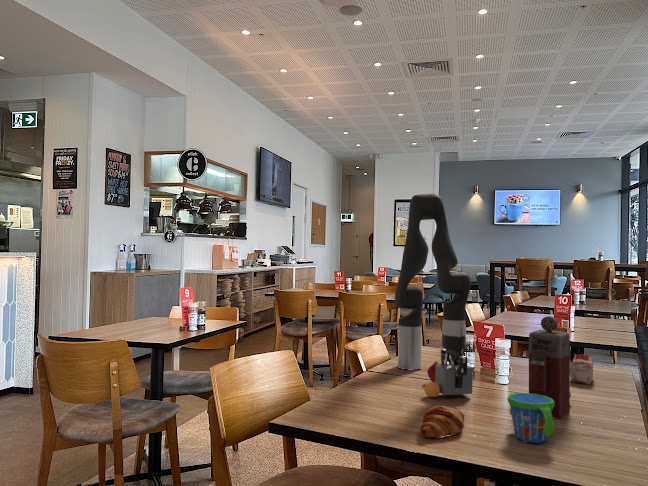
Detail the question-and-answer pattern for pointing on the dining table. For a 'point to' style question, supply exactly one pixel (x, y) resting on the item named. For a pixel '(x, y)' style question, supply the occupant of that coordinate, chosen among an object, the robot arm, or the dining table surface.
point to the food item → (581, 369)
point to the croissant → (442, 421)
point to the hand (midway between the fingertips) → (453, 384)
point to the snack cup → (531, 416)
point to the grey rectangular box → (452, 380)
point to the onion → (432, 372)
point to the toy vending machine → (550, 365)
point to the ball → (432, 389)
